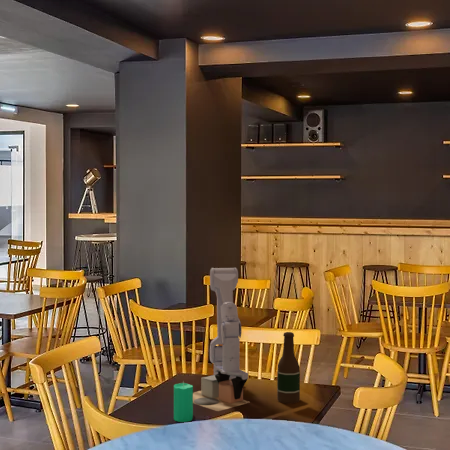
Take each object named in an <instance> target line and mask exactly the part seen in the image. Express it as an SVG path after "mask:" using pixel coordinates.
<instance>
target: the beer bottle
mask: <svg viewBox="0 0 450 450" xmlns="http://www.w3.org/2000/svg"><path fill="white" fill-rule="evenodd" d="M282 336H283V349H282V355H281V357H280V359H279V361H278V364H277V374H276V375H277V378H276V379H277V385H276V388H277V392H276V396H277V397H276V398H277V399H276V400H277V402H278V403H282V404H297V403H299V402H300V400H301V394H300V393H301V386H300V385H301V381H300V380H301V370H300V369H301V368H300V364H299V361H298V359H297V357H296V355H295V354H296V353H295V344H294V343H295V342H294V337H295V335H294V332H293V331H292V332H291V331H286V332H283V334H282Z"/></svg>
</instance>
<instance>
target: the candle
mask: <svg viewBox="0 0 450 450" xmlns="http://www.w3.org/2000/svg"><path fill="white" fill-rule="evenodd" d="M193 392H194V386H193V384H189V383H186V382H184V380H183V381H182V382H180V383H175V384H173V420H174V421H175V422H180V423H184V422H185V423H186V422H190V421H192V420H193V419H194V403H193Z"/></svg>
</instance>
